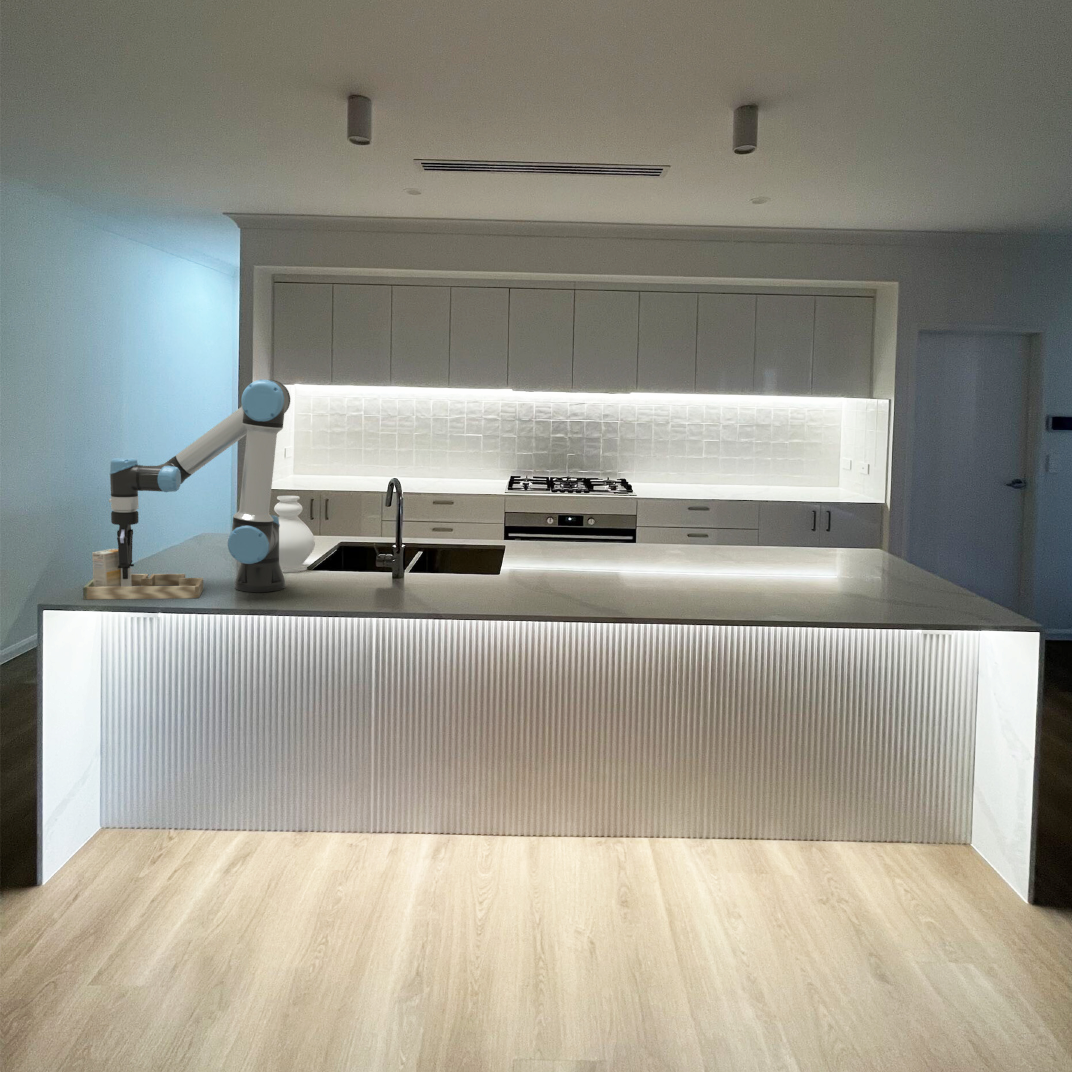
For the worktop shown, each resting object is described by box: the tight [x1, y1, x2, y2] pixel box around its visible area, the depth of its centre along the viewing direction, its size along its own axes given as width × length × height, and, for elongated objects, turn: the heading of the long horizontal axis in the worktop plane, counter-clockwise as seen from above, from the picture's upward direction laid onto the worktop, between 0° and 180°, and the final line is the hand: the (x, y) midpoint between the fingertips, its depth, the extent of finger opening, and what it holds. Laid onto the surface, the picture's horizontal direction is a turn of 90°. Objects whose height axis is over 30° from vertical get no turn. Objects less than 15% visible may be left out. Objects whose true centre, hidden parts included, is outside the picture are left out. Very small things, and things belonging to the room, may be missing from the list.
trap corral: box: [82, 573, 204, 600], centre depth 325 cm, size 32×21×4 cm, turn 102°
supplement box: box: [91, 548, 121, 587], centre depth 319 cm, size 8×5×13 cm, turn 157°
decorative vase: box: [273, 495, 316, 573], centre depth 368 cm, size 18×18×25 cm
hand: (126, 588), depth 321 cm, fingers closed
